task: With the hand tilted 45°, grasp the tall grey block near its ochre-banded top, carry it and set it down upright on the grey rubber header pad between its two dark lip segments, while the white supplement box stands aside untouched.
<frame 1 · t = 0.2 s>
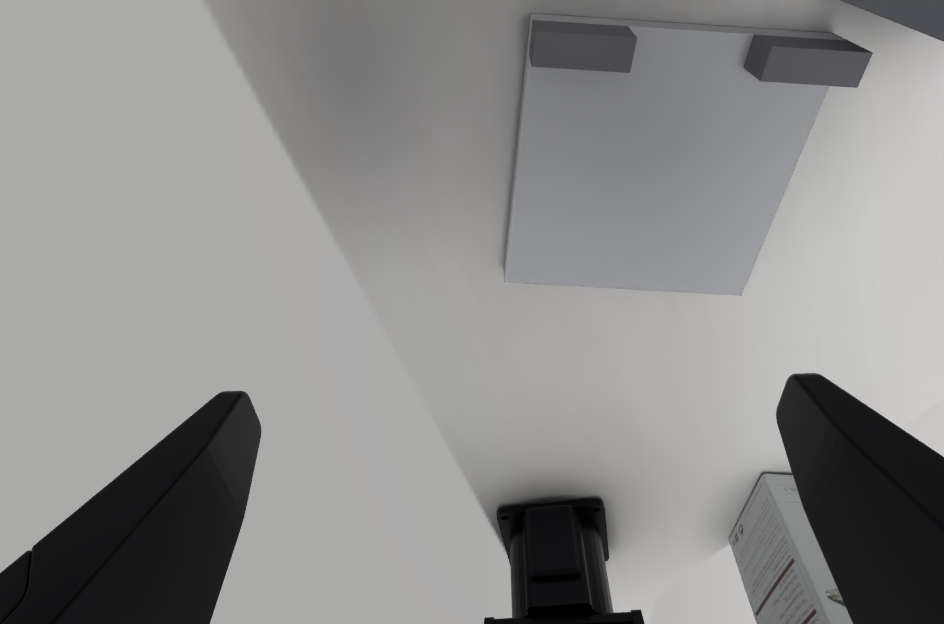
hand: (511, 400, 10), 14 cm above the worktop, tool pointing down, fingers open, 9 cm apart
supplement box: (799, 505, 36), on the worktop
pad: (646, 166, 22), on the worktop
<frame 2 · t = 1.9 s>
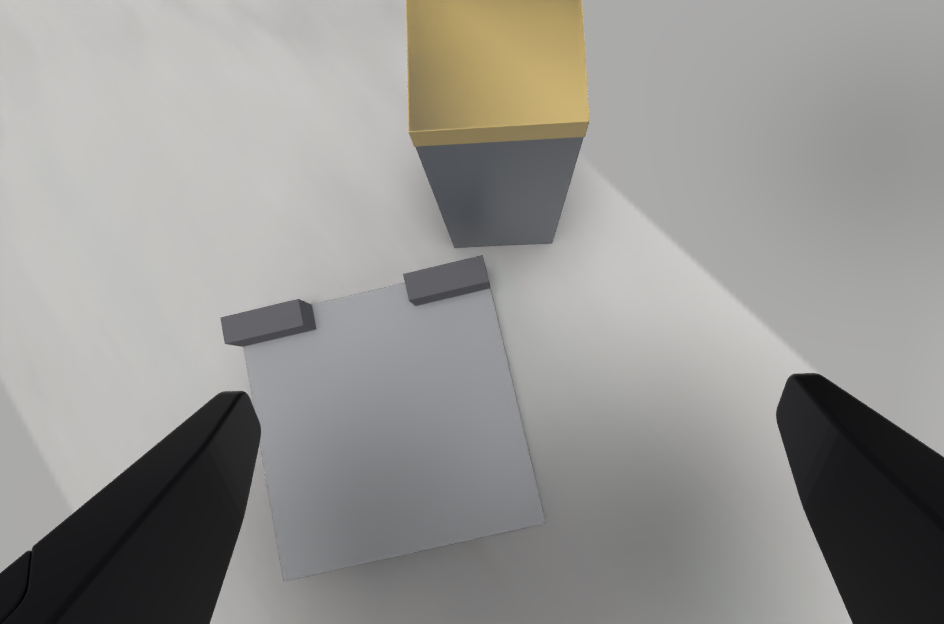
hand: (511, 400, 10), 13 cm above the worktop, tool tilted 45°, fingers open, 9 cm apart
grey block: (501, 198, 24), on the worktop
pad: (391, 417, 23), on the worktop
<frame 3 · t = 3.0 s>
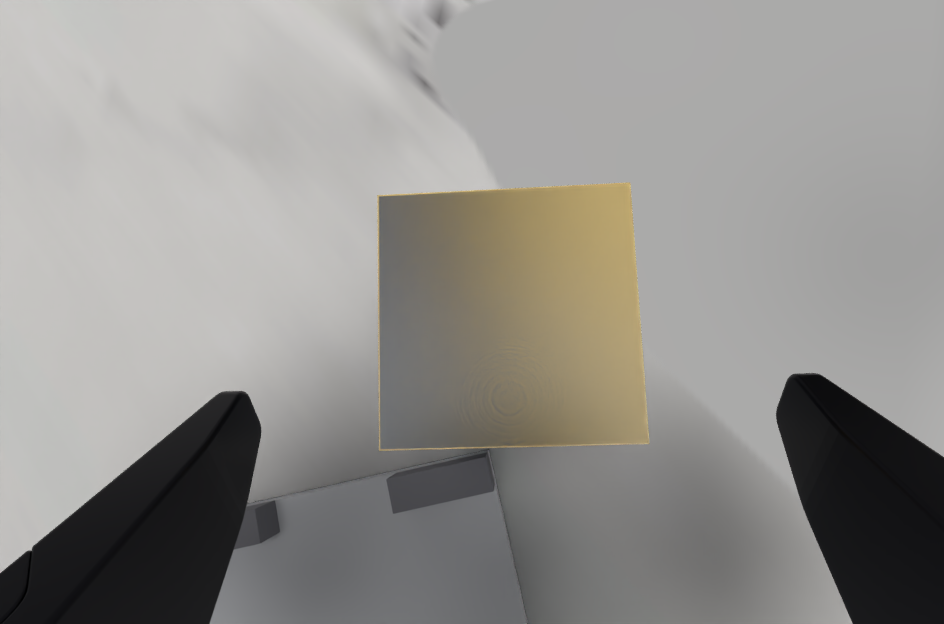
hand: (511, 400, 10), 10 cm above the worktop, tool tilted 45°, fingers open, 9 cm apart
grey block: (508, 360, 20), on the worktop
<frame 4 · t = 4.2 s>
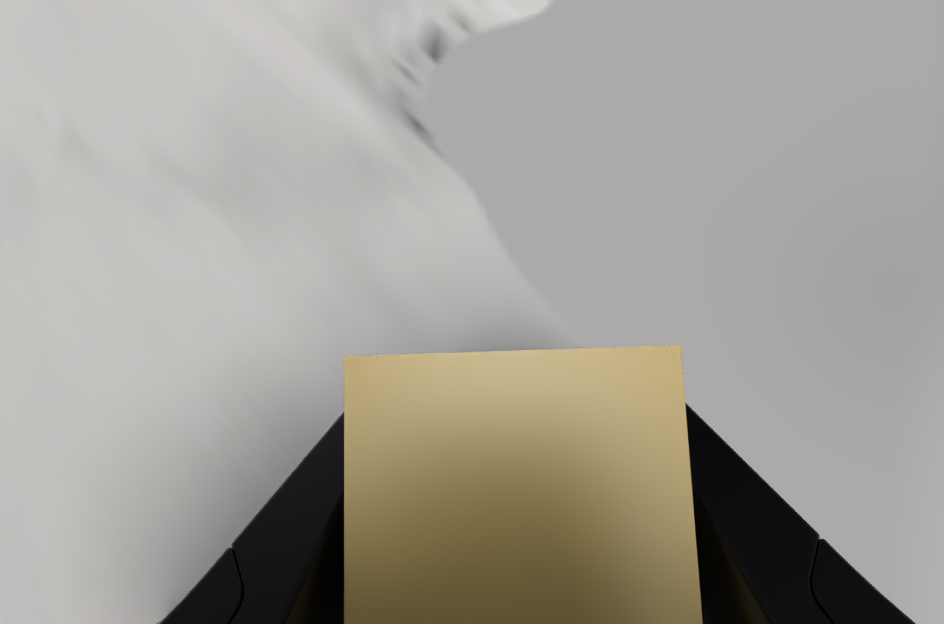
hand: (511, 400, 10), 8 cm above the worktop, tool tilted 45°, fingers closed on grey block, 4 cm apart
grey block: (511, 442, 18), on the worktop, touching gripper
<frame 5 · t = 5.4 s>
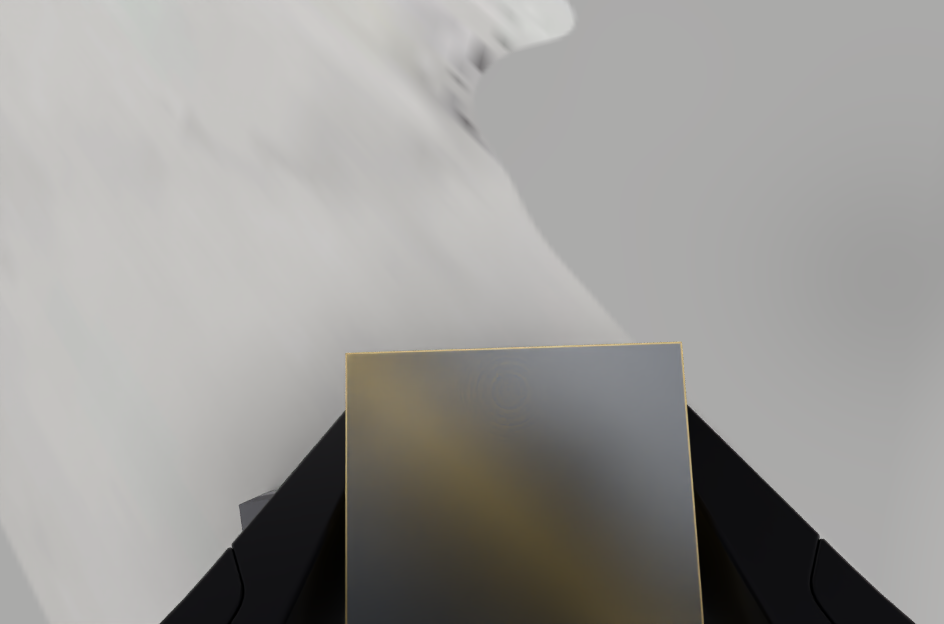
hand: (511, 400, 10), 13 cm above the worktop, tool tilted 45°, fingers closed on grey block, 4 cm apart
grey block: (512, 441, 18), point 5 cm above the worktop, touching gripper
pad: (413, 600, 22), on the worktop
when the fingers open (10 cm above the worktop, at t = 6.9 s): grey block stays where it is, resting on pad.
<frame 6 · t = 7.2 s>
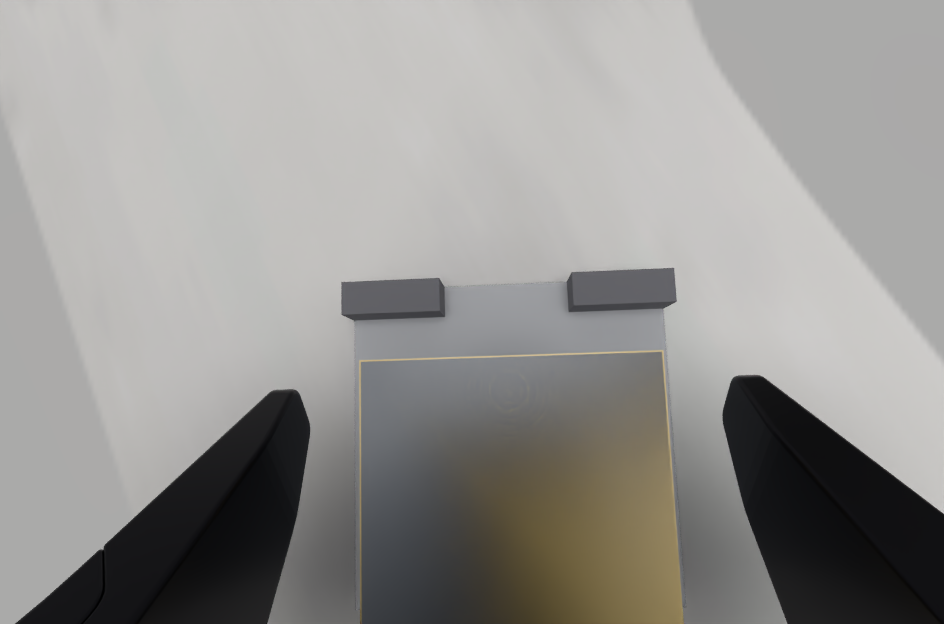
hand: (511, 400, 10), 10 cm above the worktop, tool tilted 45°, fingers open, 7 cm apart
grey block: (511, 440, 18), point 1 cm above the worktop, touching pad
pad: (511, 437, 19), on the worktop
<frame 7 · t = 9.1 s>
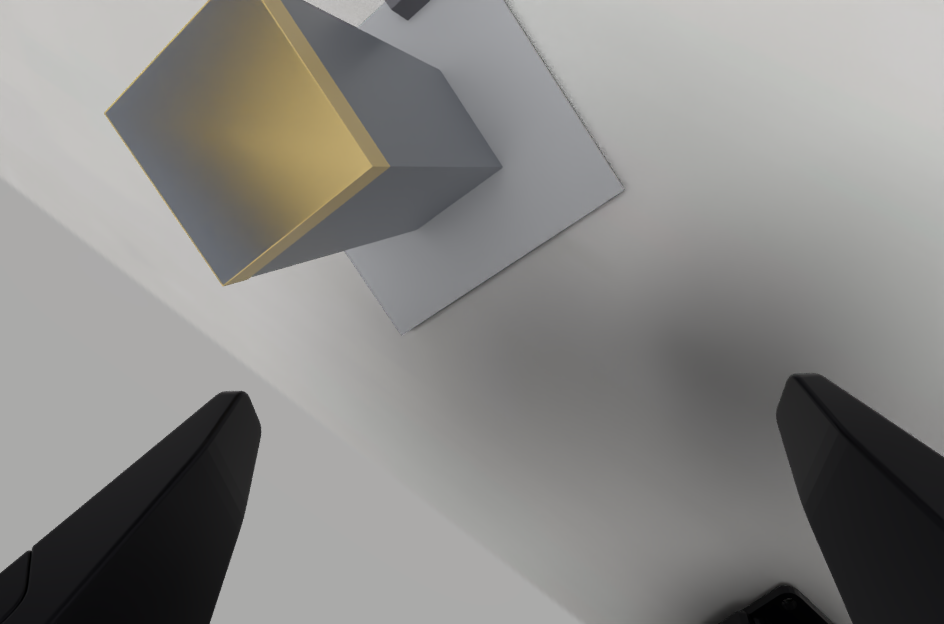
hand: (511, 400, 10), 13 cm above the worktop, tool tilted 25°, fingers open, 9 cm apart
grey block: (427, 153, 21), point 1 cm above the worktop, touching pad
pad: (436, 153, 22), on the worktop
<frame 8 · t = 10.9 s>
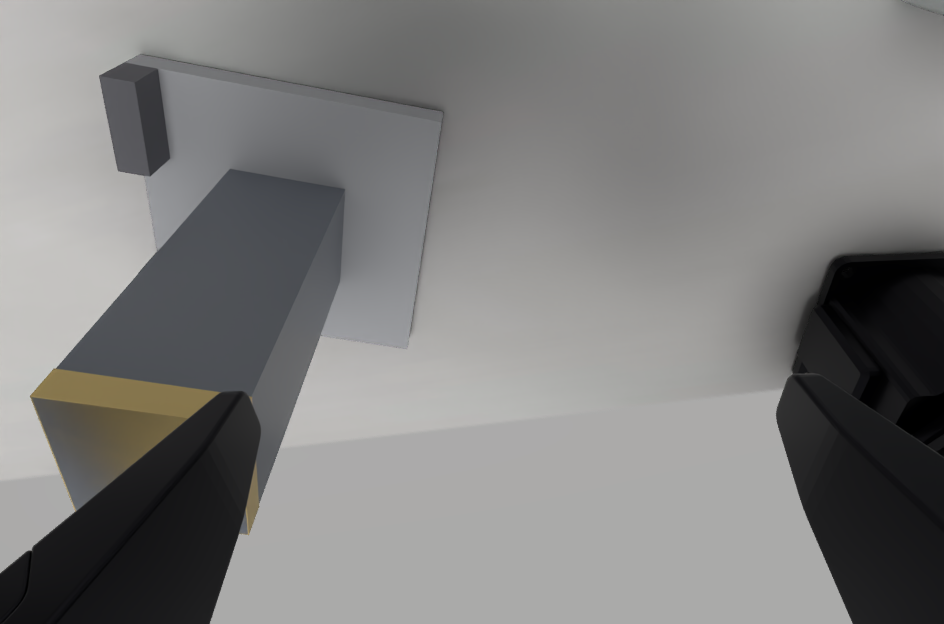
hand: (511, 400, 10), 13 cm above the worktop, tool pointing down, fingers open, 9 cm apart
grey block: (288, 228, 22), point 1 cm above the worktop, touching pad
pad: (295, 215, 22), on the worktop
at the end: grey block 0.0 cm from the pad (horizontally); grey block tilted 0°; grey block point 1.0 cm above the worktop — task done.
